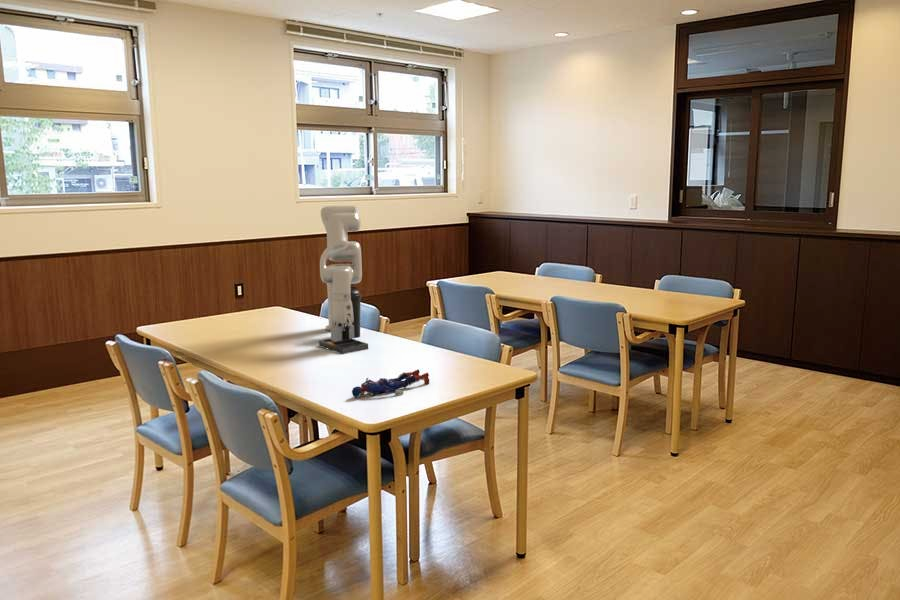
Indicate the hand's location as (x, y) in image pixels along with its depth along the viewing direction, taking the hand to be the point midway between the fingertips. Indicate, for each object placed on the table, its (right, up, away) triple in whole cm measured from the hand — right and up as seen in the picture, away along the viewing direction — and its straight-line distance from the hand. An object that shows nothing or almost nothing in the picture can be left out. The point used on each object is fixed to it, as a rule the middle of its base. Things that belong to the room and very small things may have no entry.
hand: (343, 338), depth 299 cm
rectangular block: (0, 0, 0) cm, 0 cm away
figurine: (+25, -15, -59) cm, 66 cm away
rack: (0, -4, +1) cm, 4 cm away
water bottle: (0, 0, +22) cm, 22 cm away
